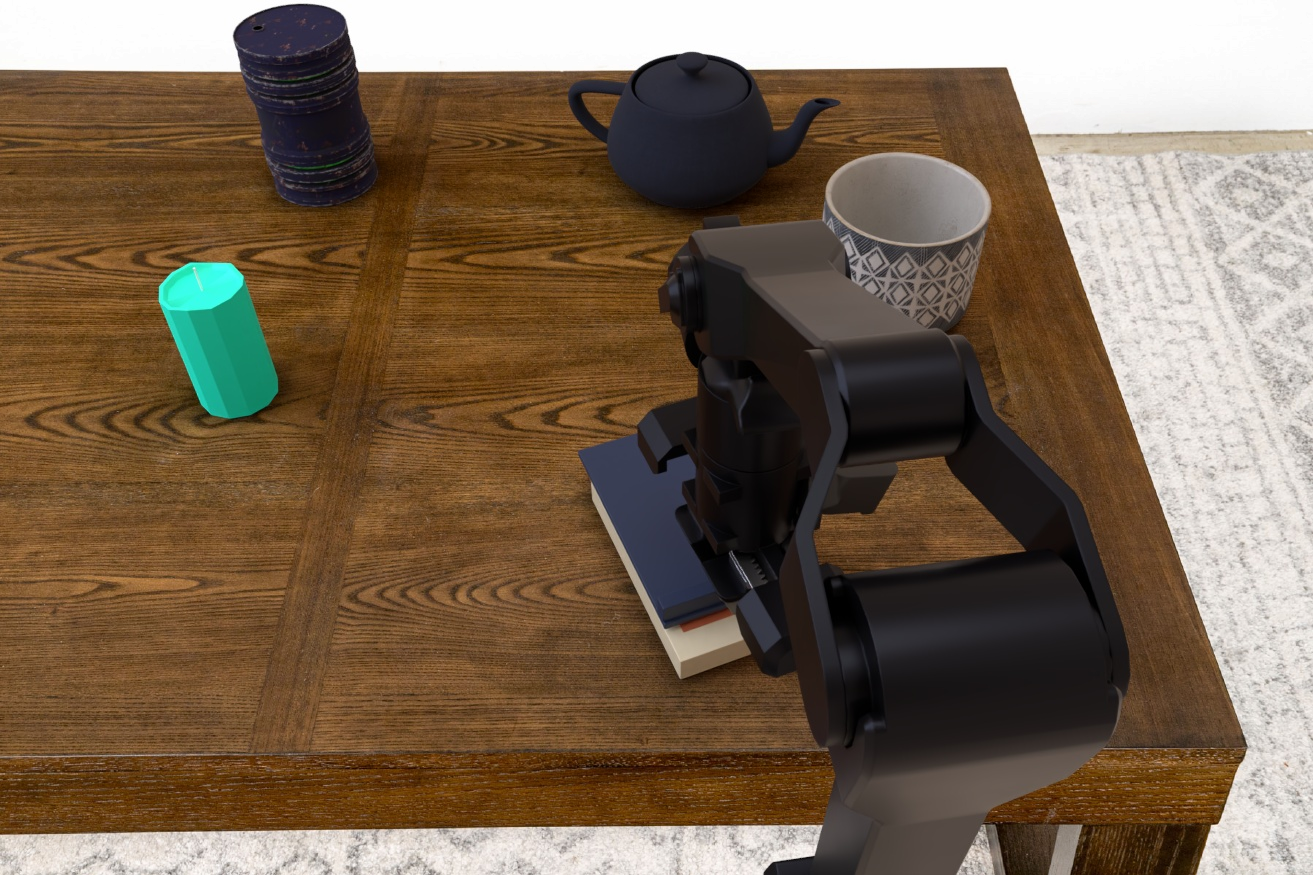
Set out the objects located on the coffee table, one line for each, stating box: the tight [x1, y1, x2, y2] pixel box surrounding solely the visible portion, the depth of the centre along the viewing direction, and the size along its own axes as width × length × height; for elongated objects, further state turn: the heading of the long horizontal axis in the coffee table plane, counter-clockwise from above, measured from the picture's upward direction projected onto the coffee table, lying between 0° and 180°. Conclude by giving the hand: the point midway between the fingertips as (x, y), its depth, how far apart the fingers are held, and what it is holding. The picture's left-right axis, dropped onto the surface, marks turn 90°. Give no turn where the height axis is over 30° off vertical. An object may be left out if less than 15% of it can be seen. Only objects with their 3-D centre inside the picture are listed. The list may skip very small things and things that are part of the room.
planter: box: [821, 151, 992, 333], centre depth 93 cm, size 13×13×10 cm
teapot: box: [567, 51, 842, 210], centre depth 106 cm, size 25×16×12 cm, turn 75°
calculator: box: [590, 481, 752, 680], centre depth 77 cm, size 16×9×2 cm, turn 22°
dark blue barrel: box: [232, 3, 379, 208], centre depth 105 cm, size 10×10×15 cm
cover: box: [577, 432, 728, 629], centre depth 77 cm, size 16×9×2 cm, turn 22°
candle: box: [158, 262, 279, 419], centre depth 86 cm, size 6×6×12 cm
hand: (738, 608), depth 72 cm, fingers closed
